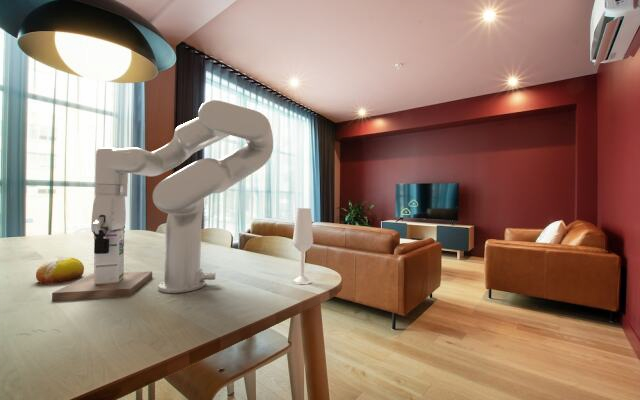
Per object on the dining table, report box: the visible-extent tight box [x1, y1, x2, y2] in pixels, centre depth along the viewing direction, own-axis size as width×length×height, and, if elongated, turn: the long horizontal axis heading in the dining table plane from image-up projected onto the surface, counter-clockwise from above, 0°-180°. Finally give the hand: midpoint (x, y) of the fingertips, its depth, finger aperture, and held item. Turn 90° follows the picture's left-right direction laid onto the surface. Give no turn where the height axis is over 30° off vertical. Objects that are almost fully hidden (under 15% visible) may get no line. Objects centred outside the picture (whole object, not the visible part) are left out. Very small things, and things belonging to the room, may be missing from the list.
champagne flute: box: [292, 207, 314, 282], centre depth 89 cm, size 7×7×24 cm
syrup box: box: [93, 230, 125, 284], centre depth 79 cm, size 6×6×14 cm
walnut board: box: [51, 271, 153, 302], centre depth 79 cm, size 17×18×2 cm
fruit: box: [35, 257, 85, 285], centre depth 86 cm, size 11×10×8 cm
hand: (109, 250), depth 79 cm, fingers open, 9 cm apart
